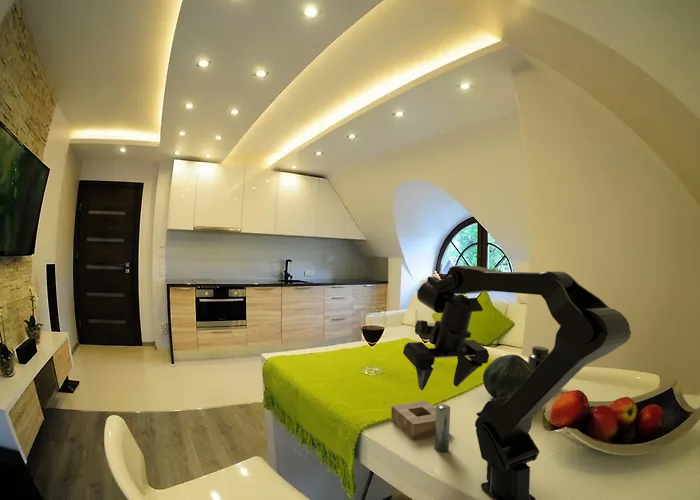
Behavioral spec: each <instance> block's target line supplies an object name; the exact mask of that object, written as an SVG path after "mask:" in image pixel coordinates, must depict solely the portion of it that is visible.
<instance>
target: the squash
mask: <svg viewBox="0 0 700 500" xmlns="http://www.w3.org/2000/svg"><path fill="white" fill-rule="evenodd" d="M533 371H534V368H533V367H532V366H531V365H530V364H529V363H528V361H527V360H526V359H524V358H523V357H522V356H520V355H517V354H507V355H501V356H499V357H497V358H494V360H492V361H491V362H490V363H489V364H488V365H487V366H486V367H485V369H484V371H483V374H482V382H483V386H484V388H485V390H486V391H487V392H486V393H488V394H489V395H490V396H491V397H492V398H493V400H495V399H499V398H503V397H507V396H511V395H512V394H513V393H514V392H515V391H516V390H517V388H518V387H519V386H520V385H521V384H522V383H523V382H524V381H525V380H526V378H527V377H528V376H529V375H530V374H531V373H532V372H533Z"/></svg>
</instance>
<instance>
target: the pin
mask: <svg viewBox="0 0 700 500" xmlns="http://www.w3.org/2000/svg"><path fill="white" fill-rule="evenodd" d="M435 408H436V416H435V436H434V443H433V445H434V446H433V448H434V450H435V451H436V452H438V453H443V454H444V453H448V452H449V450H450V427H451V425H450V424H451V423H450V422H451V420H450V419H451V407H450V406H449V405H448V404H445V403H437V404H435Z"/></svg>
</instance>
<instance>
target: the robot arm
mask: <svg viewBox="0 0 700 500" xmlns="http://www.w3.org/2000/svg"><path fill="white" fill-rule="evenodd" d="M489 292H500V293H511V294H512V293H513V294H526V295H535V296H536V295H538V296H541V298H543V300H544V301H545V303H546V305H547V308H548V311H549V313H550V315H551V317H552V318H553V319H554V320H555V321H556V323H557V325H559V327H558V330H557V331H556V334H555V340H554V346H553V348H552V349H551V351H549V354H548V355H547V356H546V357H545V359H544V360H543V361H542V362H541V363H540V364H539V365H538V366H537V367H536V369H535V370H534V371H533V372H532V373H531V374H530V375H529V376H528V377H527V378H526V380H525V381H524V382H523V383H522V384H521V385H520V386H519V387H518V388H517V390H516V391H515V392H514V393H513V394H512V395H511V396H507V397H503V398H499V399H491V400H488V401H487V402H486V403H485V404H484V406H483V408H482V409H481V410H480V411H479V412H476V416H477V418H476V420H475V423H474V427H475V433H476V437H477V443H478V447H479V450H480V457H481V458H482V460H484V461H485V462H486V466H487V467H486V481H485V482H482V483H480V488H481V489H483V491H485V492H486V493H487V494H488V495H489V496H490V497H491V498H493V499H494V500H536V497H535V496H533V495H532V494H531V493H530V480H531V467H530V466H529V465H528V464H527V463H531V462H533V461H534V462H535V461H536V460H537V458H538V456H539V454H540V450H539V448H538V446H537V444H536V443H535V441H534V440H533V438H532V436H531V435H530V433H529V432H530V430H531V429H532V422H533V418H534V416H536V415H537V414H538V413H539V412H540V411H541V409H543V408H544V407H545V406H546V405H547V404H548V403H549V402H550V401H551V400H552V399H553V398H554V397H555V396H556V395H557V394H558V393H559V391H561V390H562V389H563V388H564V387H565V386H566V385H567V384H568V383H569V382H570V381H571V380H572V379H573V378H574V377H575V376H576V375H577V374H578V373H579V372H580V371H581V370H583V368H584V367H585V366H587V365H588V364H591V363H592V362H594V361H597V360H599V359H601V358H602V357H604V356H606V355H608V354H610V353H611V352H613V351H615V350H616V349H618V348H619V347H621V346H623V345H624V344H626V343H627V342H629V341H628V340H629V339H630V338H631V335H632V331H631V329H630V323H629V322H628V319H627V318H626V317H625V316H624V315H623V314H622V313H621V312H620V311H618V310H616V309H615V308H611V307H609V306H608V305H607V304H606V303H605V302H604V301H603V300H602V299H601V298H600V297H599V296H597V295H595V294H594V293H593V292H591V291H589V290H588V289H586V287H584V286H582V285H580V284H579V283H578V281H576V280H575V278H573V277H572V276H571V275H570V274H568V273H567V272H564V271H553V270H552V271H541V272H524V271H523V272H521V271H518V272H517V271H516V272H515V271H496V270H493V269H490V268H487V267H483V266H478V265H452V266H449V269H448V271H447V273H446V274H445V275H444V276H443V277H442V278H440V279H439V278H438V277H436V276H428V277H427V280H426V281H424V283H422V284H421V285H420V287H419V289H418V290H417V292H416V293H417V294H416V297H417V300H418V301H419V302H420V303H421V304H423V305H425V306H426V307H427V308H429V309H430V310H431V311H433V312H435V313H437V314H441V318H440V320H437V321H435V322H434V323H433V322H431V323H430V322H428V321H427V320H424V319H423V320H421V319H420V320H419V319H417V320H416V322H415V326H414V333H415V334H416V335H418V336H420V338H421V339H423V338H425V339H428V343H430V345H433V346H434V347H431V348H430V347H428V346H427V345H426V344H425V343H423V342H422V341H416V342H415V341H414V342H407V343H405V344H404V347H403V351H402V354H403V355H404V356H405V357H406V359H407V360H408V361H409V362H410V363H411V364H412V366H414V367H415V371H416V376H417V377H416V378H417V385H418V388H419V389H420V391H424V390H425V387H426V385H427V384H428V381H429V380H430V378H431V375H432V373H433V371H434V368H433V365H434V364H435V361H436V359H444V358H445V359H446V358H456V359H457V362H456V363H457V364H456V367H455V372H454V375H453V382H452V384H453V385H454V387H459V386H460V385H461V384H462V382H464V381H465V380H466V379H467V378H468V377H470V375H472V373H474V372H475V371H476V370H478V368H481V367H483V364H488V361H489V358H490V354H489V351H488V349H487V348H486V347H484V346H483V345H482V344H481V343H479V342H478V341H476V340H475V339H470V338H471V336H472V333H471V332H470V331H469V326H470V323H471V318H472V314H473V312H474V313H475V312H483V310H484V308H483V307H482V305H481V303H480V302H479V300H478V298H477V297H468V296H466V295H469V294H482V293H489ZM464 294H465V295H464Z"/></svg>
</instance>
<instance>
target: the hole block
mask: <svg viewBox="0 0 700 500" xmlns="http://www.w3.org/2000/svg"><path fill="white" fill-rule="evenodd" d="M390 415H391V417H390V419H391V418H392V420H391V422H393V423H394V424H395V425H396V426H397V427H398V428H399V429H401V430H402V431H403V433H405V434H406V435H407V436H408V437H409V438H410V439H411V440H412V441H415V440H420V439H425V438H429V437H435V416H436V406H433V405H432V404H431V403H430V402H428V401H426V400H422V401H414V402H409V403H408V402H407V403H402V404H401V403H400V404H396V405H395V404H394V405H391V413H390Z"/></svg>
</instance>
